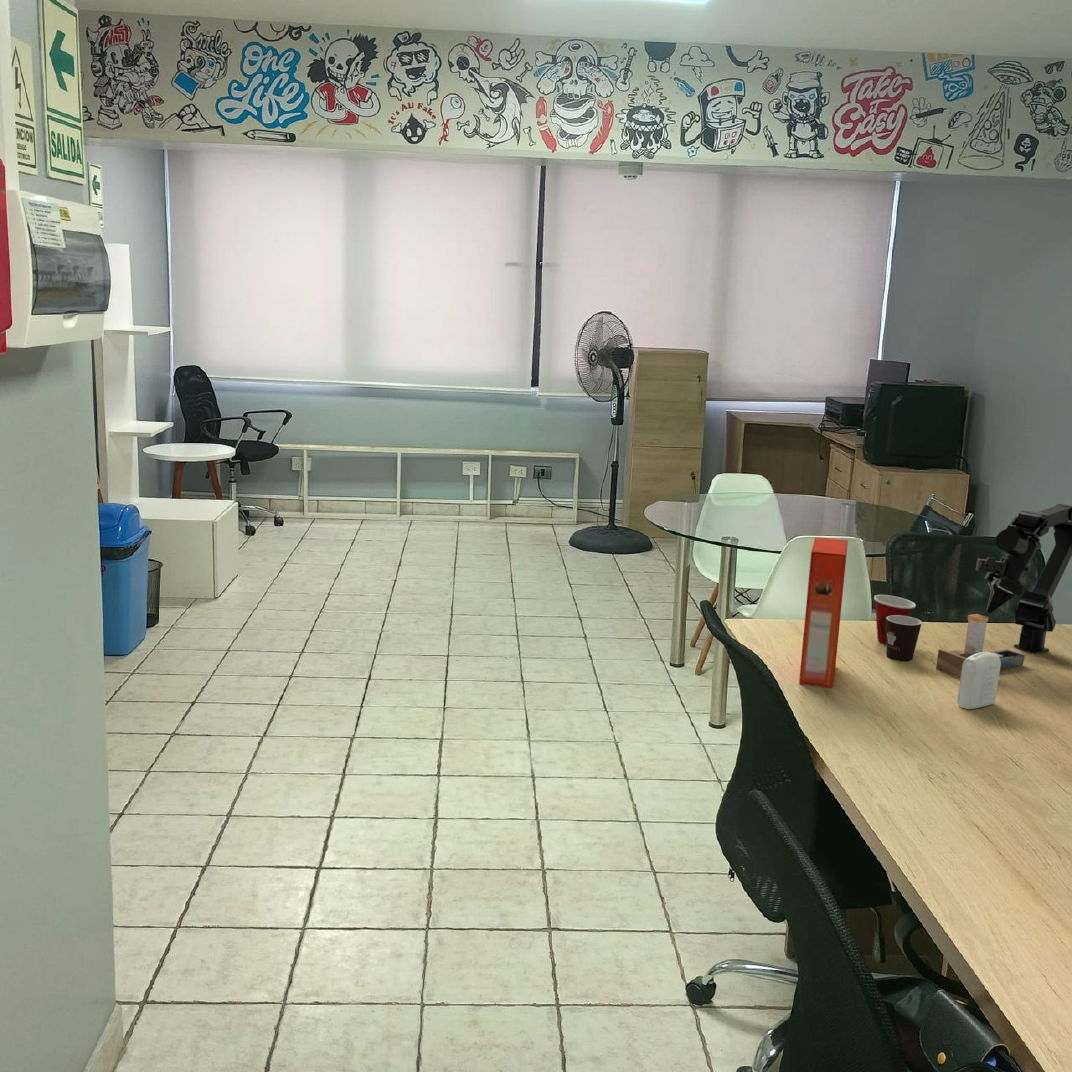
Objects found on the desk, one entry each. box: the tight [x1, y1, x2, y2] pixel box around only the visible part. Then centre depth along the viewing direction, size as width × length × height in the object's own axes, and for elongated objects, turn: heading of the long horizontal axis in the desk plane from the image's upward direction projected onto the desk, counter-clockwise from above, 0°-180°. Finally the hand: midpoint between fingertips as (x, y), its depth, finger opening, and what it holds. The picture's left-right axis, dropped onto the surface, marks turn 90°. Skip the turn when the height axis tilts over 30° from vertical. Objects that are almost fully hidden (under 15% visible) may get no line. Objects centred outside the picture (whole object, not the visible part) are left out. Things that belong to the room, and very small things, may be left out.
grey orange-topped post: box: [963, 613, 1004, 658], centre depth 273 cm, size 13×3×13 cm, turn 120°
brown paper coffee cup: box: [880, 615, 923, 663], centre depth 281 cm, size 12×9×10 cm
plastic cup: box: [873, 594, 917, 646], centre depth 292 cm, size 11×11×12 cm
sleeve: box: [990, 649, 1025, 671], centre depth 278 cm, size 12×5×3 cm, turn 120°
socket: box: [935, 648, 967, 679], centre depth 271 cm, size 9×9×5 cm
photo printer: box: [956, 651, 1001, 710], centre depth 247 cm, size 10×4×12 cm, turn 123°
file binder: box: [798, 537, 849, 689], centre depth 261 cm, size 8×17×32 cm, turn 163°
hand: (988, 612), depth 282 cm, fingers closed
